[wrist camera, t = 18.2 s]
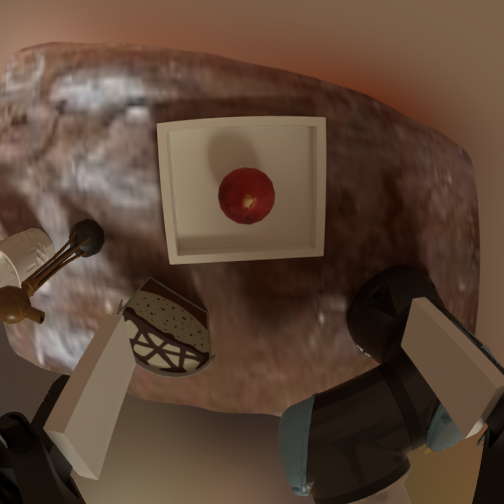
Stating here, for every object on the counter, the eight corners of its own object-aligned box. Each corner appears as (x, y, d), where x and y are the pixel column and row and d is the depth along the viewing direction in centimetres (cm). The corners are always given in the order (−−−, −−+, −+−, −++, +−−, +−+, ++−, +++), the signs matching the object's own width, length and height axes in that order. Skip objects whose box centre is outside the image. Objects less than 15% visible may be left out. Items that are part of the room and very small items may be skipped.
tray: (318, 118, 33) (325, 117, 30) (316, 247, 39) (323, 255, 36) (162, 124, 32) (156, 123, 29) (173, 255, 38) (169, 264, 35)
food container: (120, 302, 40) (96, 344, 30) (139, 269, 38) (115, 308, 29) (194, 346, 43) (187, 395, 33) (217, 317, 41) (215, 366, 32)
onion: (266, 217, 36) (276, 238, 28) (217, 213, 35) (213, 233, 28) (273, 167, 34) (285, 175, 26) (221, 162, 33) (219, 168, 26)
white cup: (21, 215, 34) (-22, 237, 25) (62, 234, 35) (22, 262, 26) (16, 263, 36) (-21, 292, 27) (55, 282, 38) (21, 317, 28)
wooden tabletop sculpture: (114, 228, 36) (29, 308, 17) (108, 260, 37) (32, 354, 19) (76, 215, 35) (-24, 281, 16) (71, 247, 36) (-18, 326, 17)
